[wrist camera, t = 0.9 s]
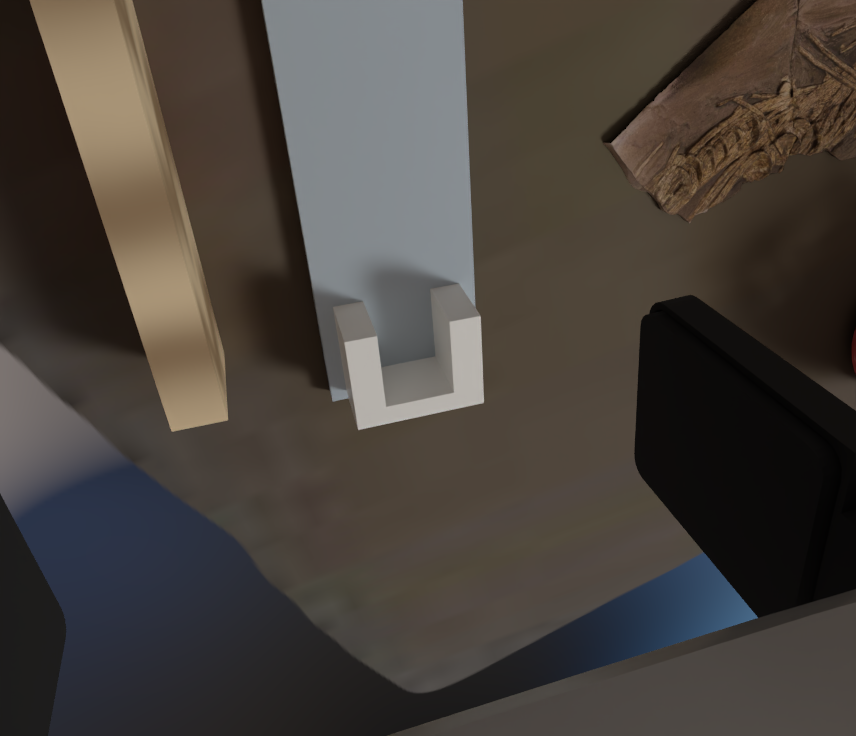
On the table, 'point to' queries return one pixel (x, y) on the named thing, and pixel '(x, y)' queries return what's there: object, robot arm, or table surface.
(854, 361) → the plant pot
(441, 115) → the endcap board
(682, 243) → the table surface
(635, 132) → the wooden fragment
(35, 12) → the slat
